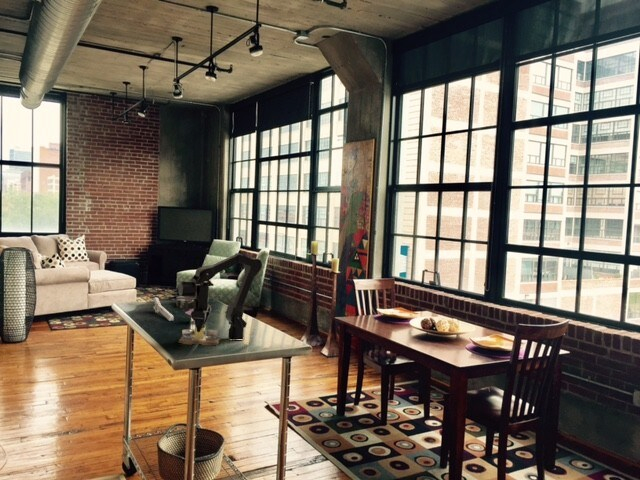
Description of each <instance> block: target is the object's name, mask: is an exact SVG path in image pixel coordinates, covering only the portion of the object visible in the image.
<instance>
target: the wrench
mask: <svg viewBox="0 0 640 480" xmlns="http://www.w3.org/2000/svg"><path fill="white" fill-rule="evenodd" d="M152 302H154V306H153V310H154V311H155V314H156V313H157V314H158V313H160V314H161V315H162V316H163V317H165V318H166V320H168V321H170V322H172V321H174V320H175V319H174V317H175V316H174V315H173V314H172V313H171V312H169V311H168V310H167V309H166V308H165V307H164V306H162V303H161V301H160V299H159V297H153V298H152Z"/></svg>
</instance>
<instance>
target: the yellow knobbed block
mask: <svg viewBox="0 0 640 480" xmlns="http://www.w3.org/2000/svg"><path fill="white" fill-rule="evenodd" d="M206 327H207V326H206V325H204V326H202V328H201V330H200V332H197V328H196V327H195V329H194V331H195V333H194V335H195V339H204V337H205V336H206Z"/></svg>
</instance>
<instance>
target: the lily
mask: <svg viewBox="0 0 640 480" xmlns="http://www.w3.org/2000/svg"><path fill="white" fill-rule="evenodd" d="M192 311H194V310H193V309H190V310H187V311H185V314H187V315H189V316H191V312H192ZM192 321H193V322H195V321H194V320H193V319H192V318H190V322H189V325H191V324H192Z"/></svg>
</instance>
